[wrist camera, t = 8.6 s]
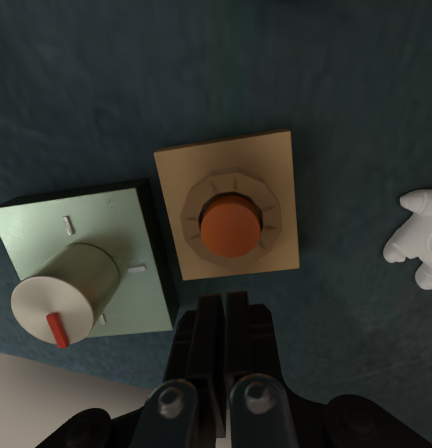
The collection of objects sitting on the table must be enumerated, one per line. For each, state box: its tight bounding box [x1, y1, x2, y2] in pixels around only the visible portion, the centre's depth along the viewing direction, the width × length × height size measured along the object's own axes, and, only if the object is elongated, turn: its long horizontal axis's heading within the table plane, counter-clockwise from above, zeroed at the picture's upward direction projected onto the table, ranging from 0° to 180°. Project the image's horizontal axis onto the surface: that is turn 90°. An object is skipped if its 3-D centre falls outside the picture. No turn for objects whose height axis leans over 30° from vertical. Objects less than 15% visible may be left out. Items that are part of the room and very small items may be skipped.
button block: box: [154, 128, 300, 280], centre depth 21 cm, size 9×10×4 cm
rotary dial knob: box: [11, 244, 119, 348], centre depth 20 cm, size 5×5×5 cm
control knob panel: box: [0, 178, 179, 338], centre depth 24 cm, size 11×12×3 cm
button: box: [201, 195, 260, 258], centre depth 19 cm, size 4×4×2 cm
